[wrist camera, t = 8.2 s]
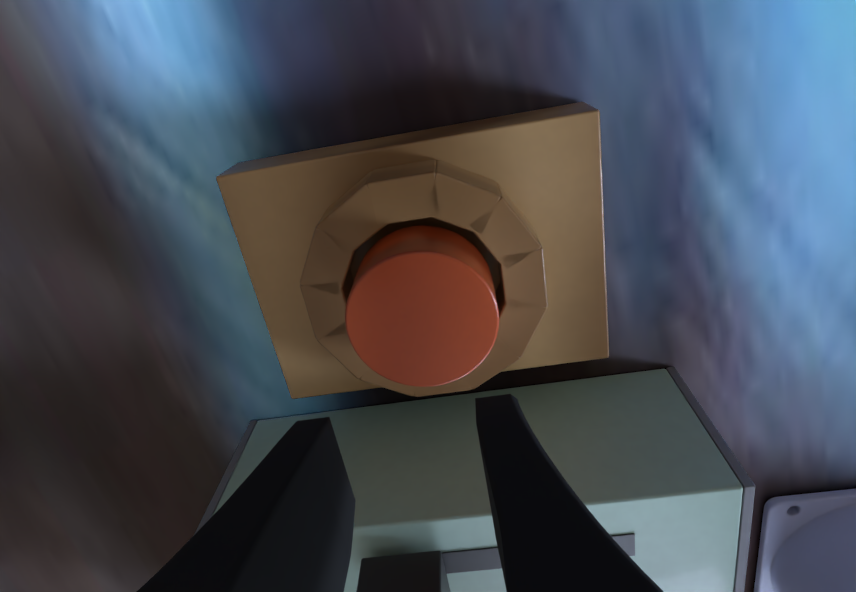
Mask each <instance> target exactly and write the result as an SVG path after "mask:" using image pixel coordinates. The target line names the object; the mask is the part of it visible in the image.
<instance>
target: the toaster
mask: <svg viewBox="0 0 856 592" xmlns="http://www.w3.org/2000/svg"><path fill="white" fill-rule="evenodd" d="M505 394H511V395H513V396H514V397H516V398H517V399H518V403H519V405H520V407H521V410H522V412H523V414H524V416H525V418H526V420H527V422H528V424H529V425H530V427H531V429H532V431H533V432H534V434H535V436H536V437H537V439H538V441H539V442H540V444H541V446H542V447H543V449H544V450H545V452H546V453H547V455H548V456H549V458H550V459H551V460H552V462H553V463H554V465H555V466H556V467H557V469H558V470H559V472H560V473H561V474H562V476H563V477H564V479H565V480H566V481H567V483H568V484H569V485H570V487H571V488H572V489H573V491H574V492H575V493H576V495H577V496H578V497H579V498H580V500H581V501H582V502H583V503H584V505H585V506H586V507H587V508H588V510H589V511H590V512H591V513H592V514H593V516H594V517H595V518H596V519H597V521H598V522H599V523H600V524H601V525H602V526H603V528H604V529H605V530H606V531H607V532H608V533H609V534H610V536H611V537H612V538H613V539H614V540H615V541H616V542H617V543H618V545H619V546H620V547H621V548H622V549H623V550H624V551H625V552H626V553H627V554H628V555H629V556H630V557H631V559H632V560H633V561H634V562H635V563H636V564H637V565H638V566H639V567H640V568H641V569H642V570H643V571H644V572H645V573H646V574H647V575H648V576H649V577H650V578H651V579H652V580H653V581H654V582H655V583H656V584H657V585H658V586H659V587H660V588H661V589H662V590H663V591H664V592H744V588H745V579H746V570H747V560H748V551H749V542H750V533H751V523H752V514H753V505H754V496H755V485H754V483H753V482H752V480H751V479H750V477H749V476H748V474H747V473H746V471H745V470H744V469H743V467H742V466H741V464H740V463H739V461H738V460H737V458H736V457H735V455H734V454H733V452H732V451H731V449H730V448H729V447H728V445H727V444H726V442H725V441H724V439H723V438H722V436H721V435H720V433H719V432H718V430H717V429H716V427H715V426H714V425H713V423H712V422H711V420H710V419H709V417H708V416H707V414H706V413H705V411H704V410H703V408H702V407H701V405H700V404H699V402H698V401H697V400H696V398H695V397H694V395H693V394H692V392H691V391H690V389H689V388H688V386H687V385H686V383H685V382H684V380H683V379H682V378H681V376H680V375H679V373H678V372H677V370H676V369H675V367H667V368H666V369H656V370H649V371H641V372H633V373H625V374H617V375H609V376H602V377H594V378H586V379H578V380H570V381H563V382H555V383H547V384H539V385H531V386H523V387H516V388H508V389H500V390H492V391H484V392H477V393H469V394H461V395H453V396H445V397H437V398H430V399H422V400H414V401H406V402H398V403H391V404H383V405H375V406H367V407H359V408H351V409H344V410H336V411H328V412H320V413H312V414H305V415H297V416H289V417H281V418H273V419H265V420H259V421H257V420H253V421H250V422H249V424H248V427H247V429H246V431H245V433H244V435H243V437H242V439H241V441H240V443H239V445H238V447H237V449H236V451H235V453H234V455H233V457H232V459H231V461H230V463H229V465H228V467H227V469H226V471H225V473H224V475H223V477H222V479H221V481H220V483H219V485H218V487H217V489H216V491H215V493H214V495H213V497H212V499H211V501H210V503H209V505H208V507H207V510H206V512H205V514H204V516H203V518H202V520H201V522H200V524H199V526H198V528H197V530H196V532H195V534H196V533H197V532H198V531H199V530H200V529H201V527H202V526H203V525H204V524H205V523H206V522H207V521H208V520H209V519H210V518H211V517H212V516H213V515H214V514H215V513H216V512H217V511H218V510H219V509H220V508H221V507H222V505H223V504H224V503H225V502H226V501H227V500H228V499H229V498H230V496H231V495H232V494H233V493H234V492H235V491H236V490H237V489H238V487H239V486H240V485H241V484H242V483H243V482H244V481H245V479H246V478H247V477H248V476H249V475H250V474H251V473H252V472H253V470H254V469H255V468H256V467H257V466H258V465H259V463H260V462H261V461H262V460H263V459H264V458H265V456H266V455H267V454H268V453H269V452H270V451H271V449H272V448H273V447H274V446H275V445H276V444H277V443H278V441H279V440H280V439H281V438H282V437H283V436H284V434H285V433H286V432H287V431H288V430H289V429H290V428H291V427H292V426H293V425H294V423H295V422H296V421H300V420H308V419H316V418H324V417H330V420H331V424H332V427H333V430H334V433H335V436H336V440H337V443H338V446H339V449H340V452H341V456H342V459H343V462H344V465H345V468H346V472H347V475H348V478H349V481H350V484H351V487H352V491H353V494H354V497H355V500H356V502H355V516H354V529H353V540H352V550H351V558H350V563H349V568H348V573H347V578H346V583H345V588H344V592H356V591H357V585H358V578H359V572H360V565H361V560H362V558H369V557H379V556H389V555H399V554H409V553H419V552H429V551H441V553H442V557H443V561H444V566H445V570H446V574H447V578H448V583H449V587H450V591H451V592H507V590H506V586H505V581H504V576H503V571H502V566H501V561H500V556H499V552H498V547H497V542H496V536H495V530H494V524H493V519H492V513H491V507H490V501H489V495H488V489H487V484H486V478H485V472H484V466H483V460H482V454H481V449H480V443H479V437H478V431H477V425H476V406H475V398H481V397H489V396H497V395H505ZM195 534H194V535H195Z"/></svg>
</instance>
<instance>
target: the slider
mask: <svg viewBox="0 0 856 592" xmlns="http://www.w3.org/2000/svg"><path fill="white" fill-rule="evenodd" d="M356 592H451V591H450V587H449V583H448V578H447V574H446V570H445V566H444V561H443V557H442V553H441V551H429V552H419V553H409V554H399V555H389V556H379V557H369V558H362V560H361V565H360V572H359V578H358V585H357V591H356Z"/></svg>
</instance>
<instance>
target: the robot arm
mask: <svg viewBox="0 0 856 592" xmlns="http://www.w3.org/2000/svg"><path fill="white" fill-rule="evenodd" d="M475 406H476V425H477V431H478V437H479V443H480V449H481V454H482V460H483V466H484V472H485V478H486V484H487V489H488V495H489V501H490V507H491V513H492V519H493V524H494V530H495V536H496V542H497V547H498V552H499V556H500V561H501V566H502V571H503V576H504V581H505V586H506V590H507V592H664V591H663V590H662V589H661V588H660V587H659V586H658V585H657V584H656V583H655V582H654V581H653V580H652V579H651V578H650V577H649V576H648V575H647V574H646V573H645V572H644V571H643V570H642V569H641V568H640V567H639V566H638V565H637V564H636V563H635V562H634V561H633V560H632V559H631V557H630V556H629V555H628V554H627V553H626V552H625V551H624V550H623V549H622V548H621V547H620V546H619V545H618V543H617V542H616V541H615V540H614V539H613V538H612V537H611V536H610V534H609V533H608V532H607V531H606V530H605V529H604V528H603V526H602V525H601V524H600V523H599V522H598V521H597V519H596V518H595V517H594V516H593V514H592V513H591V512H590V511H589V510H588V508H587V507H586V506H585V505H584V503H583V502H582V501H581V500H580V498H579V497H578V496H577V495H576V493H575V492H574V491H573V489H572V488H571V487H570V485H569V484H568V483H567V481H566V480H565V479H564V477H563V476H562V474H561V473H560V472H559V470H558V469H557V467H556V466H555V465H554V463H553V462H552V460H551V459H550V458H549V456H548V455H547V453H546V452H545V450H544V449H543V447H542V446H541V444H540V442H539V441H538V439H537V437H536V436H535V434H534V432H533V431H532V429H531V427H530V425H529V424H528V422H527V420H526V418H525V416H524V414H523V412H522V410H521V407H520V405H519V403H518V399H517V398H516V397H514V396H513V395H511V394H505V395H497V396H489V397H481V398H475ZM355 502H356V500H355V497H354V494H353V491H352V487H351V484H350V481H349V478H348V475H347V472H346V468H345V465H344V462H343V459H342V456H341V452H340V449H339V446H338V443H337V440H336V436H335V433H334V430H333V427H332V424H331V420H330V417H324V418H316V419H308V420H300V421H296V422H295V423H294V425H293V426H292V427H291V428H290V429H289V430H288V431H287V432H286V433H285V434H284V436H283V437H282V438H281V439H280V440H279V441H278V443H277V444H276V445H275V446H274V447H273V448H272V449H271V451H270V452H269V453H268V454H267V455H266V456H265V458H264V459H263V460H262V461H261V462H260V463H259V465H258V466H257V467H256V468H255V469H254V470H253V472H252V473H251V474H250V475H249V476H248V477H247V478H246V479H245V481H244V482H243V483H242V484H241V485H240V486H239V487H238V489H237V490H236V491H235V492H234V493H233V494H232V495H231V496H230V498H229V499H228V500H227V501H226V502H225V503H224V504H223V505H222V507H221V508H220V509H219V510H218V511H217V512H216V513H215V514H214V515H213V516H212V517H211V518H210V519H209V520H208V521H207V522H206V523H205V524H204V525H203V526H202V527H201V529H200V530H199V531H198V532H197V533H196V534H195V535H194V536H193V537H192V538H191V539H190V540H189V541H188V542H187V543H186V544H185V545H184V546H183V547H182V548H181V549H180V550H179V551H178V552H177V553H176V555H175V556H174V557H173V558H172V559H171V560H170V561H169V562H168V563H167V564H166V565H164V566H163V567H162V568H161V569H160V570H159V571H158V572H157V573H156V574H155V575H154V576H153V577H152V578H151V579H150V580H149V581H148V582H147V583H146V584H145V585H144V586H142V587H141V588H140V589H139V590H138V591H137V592H344V588H345V583H346V578H347V573H348V568H349V563H350V558H351V550H352V540H353V529H354V516H355ZM754 592H856V488H855V489H846V490H836V491H826V492H817V493H807V494H798V495H788V496H778V497H773V498H771V499H769V500H768V501H767V502H766V503H765V505H764V511H763V519H762V527H761V536H760V544H759V552H758V561H757V569H756V578H755V586H754Z"/></svg>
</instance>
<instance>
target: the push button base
mask: <svg viewBox="0 0 856 592" xmlns="http://www.w3.org/2000/svg"><path fill="white" fill-rule="evenodd" d="M216 180H217V183H218V185H219V188H220V191H221V194H222V197H223V200H224V203H225V206H226V209H227V212H228V215H229V217H230V220H231V223H232V226H233V229H234V232H235V235H236V238H237V241H238V244H239V247H240V249H241V252H242V255H243V258H244V261H245V264H246V267H247V270H248V273H249V276H250V279H251V282H252V284H253V287H254V290H255V293H256V296H257V299H258V302H259V305H260V308H261V311H262V314H263V316H264V319H265V322H266V325H267V328H268V331H269V334H270V337H271V340H272V343H273V346H274V349H275V351H276V354H277V357H278V360H279V363H280V366H281V369H282V372H283V375H284V378H285V381H286V383H287V386H288V389H289V392H290V395H291V398H292V399H297V398H304V397H312V396H320V395H327V394H335V393H343V392H350V391H358V390H365V389H373V388H381V387H383V388H386V389H390V390H393V391H396V392H399V393H402V394H406V395H409V396H415V397H421V396H429V395H437V394H444V393H452V392H460V391H468V390H471V389H475V388H477V387H478V386H480V385H481V384H483V383H484V382H486V381H487V380H489V379H490V378H492V377H493V376H495V375H496V374H498V373H499V372H503V371H510V370H518V369H526V368H533V367H541V366H549V365H556V364H564V363H571V362H579V361H587V360H594V359H602V358H608V357H609V337H608V312H607V286H606V260H605V235H604V209H603V183H602V158H601V132H600V111H599V110H598V109H596V108H594V107H592V106H590V105H588V104H586V103H585V102H578V103H572V104H567V105H561V106H555V107H550V108H544V109H538V110H533V111H527V112H521V113H516V114H510V115H504V116H499V117H493V118H488V119H482V120H476V121H471V122H465V123H459V124H454V125H448V126H442V127H437V128H431V129H425V130H420V131H414V132H408V133H403V134H397V135H391V136H386V137H380V138H374V139H369V140H363V141H357V142H352V143H346V144H340V145H335V146H329V147H323V148H318V149H312V150H306V151H301V152H295V153H290V154H284V155H278V156H273V157H267V158H261V159H256V160H250V161H244V162H239V163H237V164H235V165H234V166H232V167H231V168H229V169H227V170H226V171H224V172H223V173H221V174H220V175H218V176H217V177H216ZM420 225H424V226H436V227H441V228H444V229H448V230H451V231H453V232H455V233H458V234H459V235H461V236H463V237H464V238H466V239H467V240H468V241H470V242H471V243H472V244H473V245H474V246H475V247H476V248H477V249H478V250H479V251H480V252H481V254H482V255H483V256H484V258H485V260H486V262H487V263H488V265H489V268H490V271H491V274H492V279H493V284H494V289H495V294H496V299H497V304H498V309H499V330H498V334H497V338H496V341H495V343H494V346H493V348H492V349H491V351H490V353H489V354H488V356H487V357H486V358H485V359H484V361H483V362H482V363H481V364H480V365H479V366H478V367H477V368H476V369H474V370H473V371H472V372H470V373H469V374H467V375H466V376H464V377H462V378H460V379H458V380H456V381H454V382H451V383H447V384H444V385H439V386H431V387H415V386H408V385H403V384H399V383H396V382H393V381H391V380H388V379H386V378H384V377H382V376H381V375H379V374H377V373H376V372H374V371H373V370H372V369H371V368H369V367H368V366H367V365H366V364H365V363H364V362H363V361H362V360H361V359H360V357H359V356H358V355H357V353H356V352H355V350H354V348H353V346H352V345H351V343H350V340H349V337H348V335H347V331H346V326H345V309H346V304H347V300H348V296H349V294H350V291H351V288H352V285H353V282H354V279H355V277H356V274H357V271H358V268H359V266H360V264H361V261H362V260H363V258H364V256H365V255H366V253H367V252H368V251H369V249H370V248H371V247H372V246H373V245H374V244H375V243H376V242H377V241H379V240H380V239H382V238H383V237H384V236H386V235H388V234H390V233H392V232H394V231H396V230H399V229H402V228H406V227H411V226H420Z"/></svg>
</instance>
